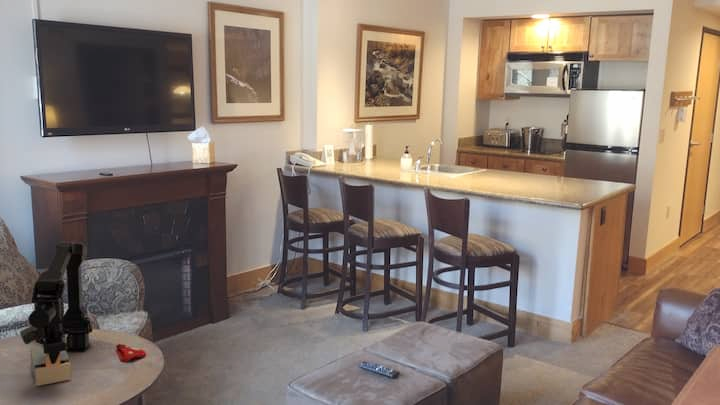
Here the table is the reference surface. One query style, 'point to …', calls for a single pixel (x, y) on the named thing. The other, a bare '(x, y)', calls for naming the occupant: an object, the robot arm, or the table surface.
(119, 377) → the table surface
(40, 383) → the beige open box
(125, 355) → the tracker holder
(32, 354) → the sleeve
